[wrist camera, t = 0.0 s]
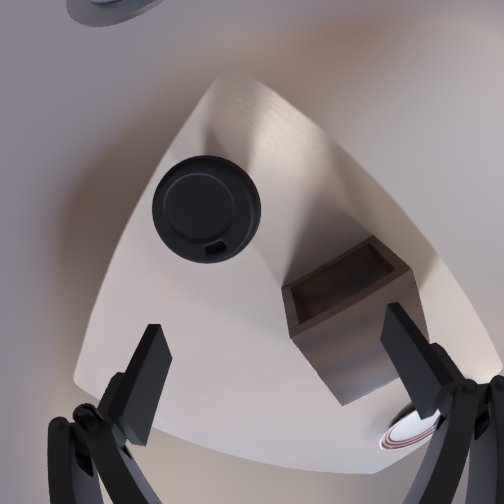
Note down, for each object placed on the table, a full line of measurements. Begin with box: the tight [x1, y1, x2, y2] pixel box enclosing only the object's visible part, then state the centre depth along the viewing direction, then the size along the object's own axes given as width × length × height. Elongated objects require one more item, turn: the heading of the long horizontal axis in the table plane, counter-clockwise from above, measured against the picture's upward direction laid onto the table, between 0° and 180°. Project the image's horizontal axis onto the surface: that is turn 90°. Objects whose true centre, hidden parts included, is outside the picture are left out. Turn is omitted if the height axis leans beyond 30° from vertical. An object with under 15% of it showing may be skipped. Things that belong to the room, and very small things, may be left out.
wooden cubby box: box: [281, 235, 430, 406], centre depth 37 cm, size 18×16×12 cm
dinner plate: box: [379, 409, 440, 450], centre depth 57 cm, size 27×27×3 cm
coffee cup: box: [152, 155, 261, 264], centre depth 28 cm, size 9×9×15 cm
